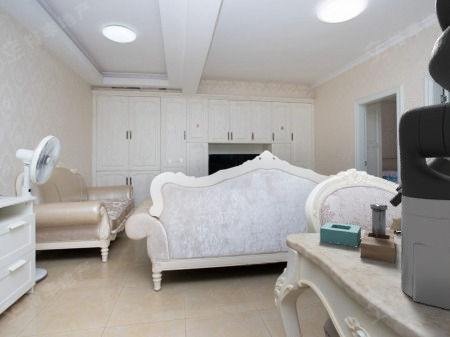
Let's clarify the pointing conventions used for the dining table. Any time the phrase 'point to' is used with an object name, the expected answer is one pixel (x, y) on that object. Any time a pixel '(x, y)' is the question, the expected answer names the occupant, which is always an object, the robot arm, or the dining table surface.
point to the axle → (378, 220)
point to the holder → (340, 233)
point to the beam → (378, 246)
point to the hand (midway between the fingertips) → (401, 207)
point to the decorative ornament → (396, 224)
